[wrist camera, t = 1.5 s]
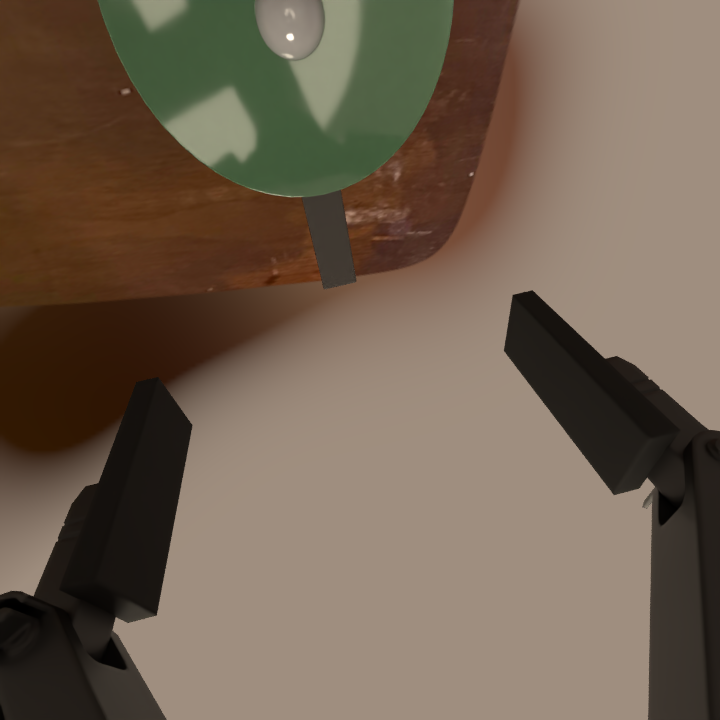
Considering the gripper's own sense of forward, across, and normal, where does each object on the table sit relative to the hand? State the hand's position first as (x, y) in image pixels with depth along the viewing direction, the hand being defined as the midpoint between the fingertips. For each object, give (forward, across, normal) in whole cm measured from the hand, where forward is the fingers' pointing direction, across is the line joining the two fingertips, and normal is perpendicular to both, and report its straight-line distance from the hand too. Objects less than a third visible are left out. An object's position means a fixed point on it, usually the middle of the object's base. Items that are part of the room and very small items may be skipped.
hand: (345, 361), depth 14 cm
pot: (+19, +1, +7) cm, 20 cm away
